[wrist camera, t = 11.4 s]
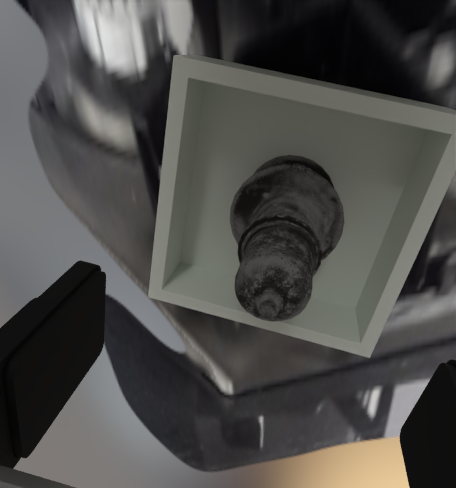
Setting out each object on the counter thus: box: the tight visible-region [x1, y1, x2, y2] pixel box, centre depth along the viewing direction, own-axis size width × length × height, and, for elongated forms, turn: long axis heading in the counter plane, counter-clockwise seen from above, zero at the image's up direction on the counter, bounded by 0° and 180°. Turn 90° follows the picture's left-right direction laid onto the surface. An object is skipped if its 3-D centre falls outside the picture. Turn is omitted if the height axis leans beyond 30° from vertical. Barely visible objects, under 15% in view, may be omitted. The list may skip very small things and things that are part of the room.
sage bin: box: [148, 55, 456, 358], centre depth 22 cm, size 14×14×4 cm
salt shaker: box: [230, 155, 344, 322], centre depth 18 cm, size 6×6×12 cm
